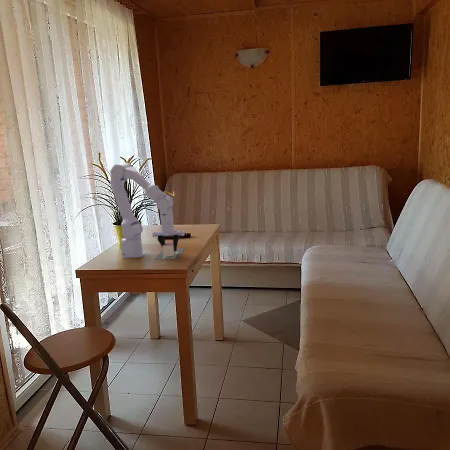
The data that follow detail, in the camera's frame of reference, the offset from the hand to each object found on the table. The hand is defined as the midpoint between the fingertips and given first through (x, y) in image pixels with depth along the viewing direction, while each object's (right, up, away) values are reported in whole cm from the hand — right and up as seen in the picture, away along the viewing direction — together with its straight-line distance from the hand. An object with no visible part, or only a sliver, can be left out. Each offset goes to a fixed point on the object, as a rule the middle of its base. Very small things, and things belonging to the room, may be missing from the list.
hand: (170, 251), depth 206 cm
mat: (-1, -2, +4) cm, 4 cm away
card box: (0, -1, 0) cm, 1 cm away
